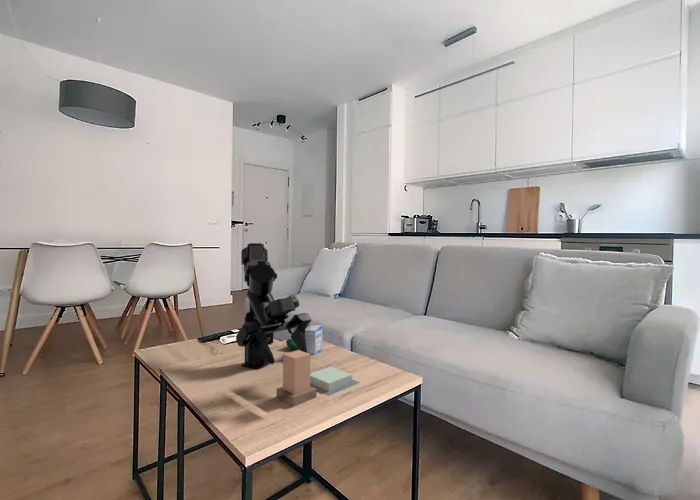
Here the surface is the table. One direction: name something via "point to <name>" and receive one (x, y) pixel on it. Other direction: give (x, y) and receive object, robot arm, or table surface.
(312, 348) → the medicine box
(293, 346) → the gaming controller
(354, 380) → the baseplate
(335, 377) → the foundation slab
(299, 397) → the walnut stand
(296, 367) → the terracotta brick
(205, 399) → the table surface
